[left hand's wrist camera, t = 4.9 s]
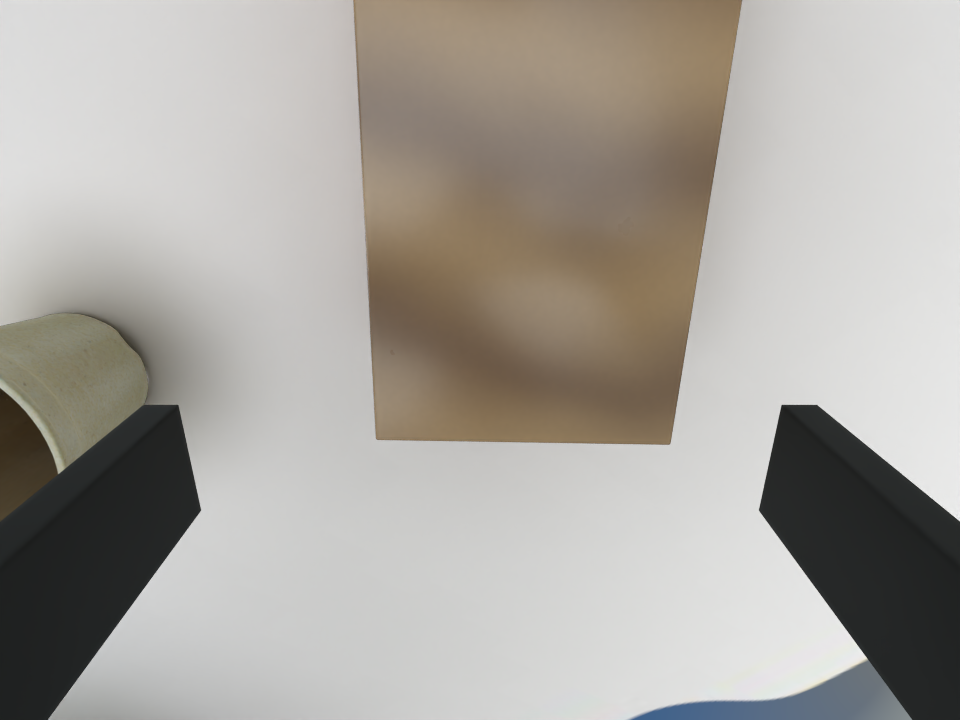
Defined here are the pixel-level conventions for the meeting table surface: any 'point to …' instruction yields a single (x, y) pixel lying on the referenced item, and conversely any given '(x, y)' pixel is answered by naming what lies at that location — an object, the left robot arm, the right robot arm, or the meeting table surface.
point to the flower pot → (60, 397)
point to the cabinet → (536, 210)
